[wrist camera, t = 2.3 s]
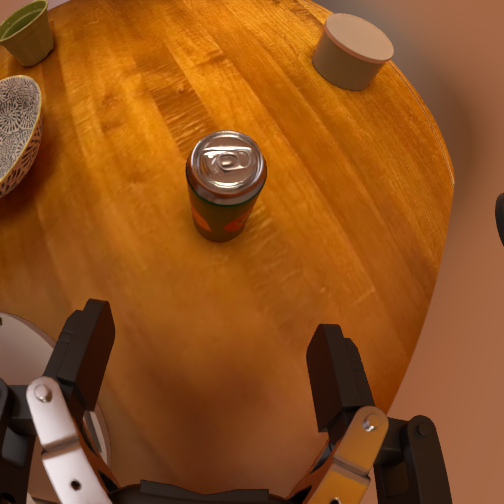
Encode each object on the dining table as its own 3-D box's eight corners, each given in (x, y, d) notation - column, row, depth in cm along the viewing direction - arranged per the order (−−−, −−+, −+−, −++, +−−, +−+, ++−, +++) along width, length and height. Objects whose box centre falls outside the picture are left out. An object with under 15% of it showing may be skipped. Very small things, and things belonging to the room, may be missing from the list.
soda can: (188, 197, 29) (178, 132, 17) (239, 188, 29) (258, 120, 18) (199, 248, 28) (192, 208, 16) (251, 236, 29) (280, 191, 17)
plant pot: (14, 85, 28) (-9, 51, 19) (12, 56, 28) (-6, 25, 20) (66, 52, 30) (50, 12, 21) (59, 27, 30) (45, -8, 22)
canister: (378, 69, 36) (399, 41, 29) (361, 103, 34) (385, 71, 27) (324, 37, 36) (339, 6, 29) (299, 66, 34) (314, 29, 27)
